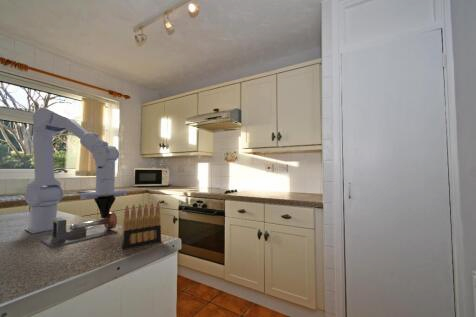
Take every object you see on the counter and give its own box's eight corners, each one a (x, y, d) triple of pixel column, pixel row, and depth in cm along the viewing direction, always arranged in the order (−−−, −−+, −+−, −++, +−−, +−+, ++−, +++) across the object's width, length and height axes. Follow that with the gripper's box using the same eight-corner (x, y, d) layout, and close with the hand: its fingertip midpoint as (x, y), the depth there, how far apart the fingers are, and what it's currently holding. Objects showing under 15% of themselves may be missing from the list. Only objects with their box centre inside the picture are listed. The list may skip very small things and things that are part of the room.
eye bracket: (40, 241, 68) (41, 218, 69) (103, 228, 83) (103, 210, 83) (51, 247, 63) (52, 223, 63) (116, 232, 77) (117, 213, 78)
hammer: (65, 235, 72) (66, 217, 72) (110, 226, 83) (111, 210, 84) (72, 239, 68) (73, 219, 69) (119, 229, 80) (119, 212, 80)
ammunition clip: (123, 249, 62) (124, 206, 62) (121, 247, 63) (122, 205, 64) (161, 241, 68) (162, 202, 69) (159, 240, 70) (159, 201, 70)
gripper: (87, 180, 71) (85, 223, 70) (131, 178, 83) (130, 215, 82) (78, 179, 75) (77, 220, 75) (121, 178, 87) (120, 213, 86)
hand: (104, 217), depth 79 cm, fingers closed
